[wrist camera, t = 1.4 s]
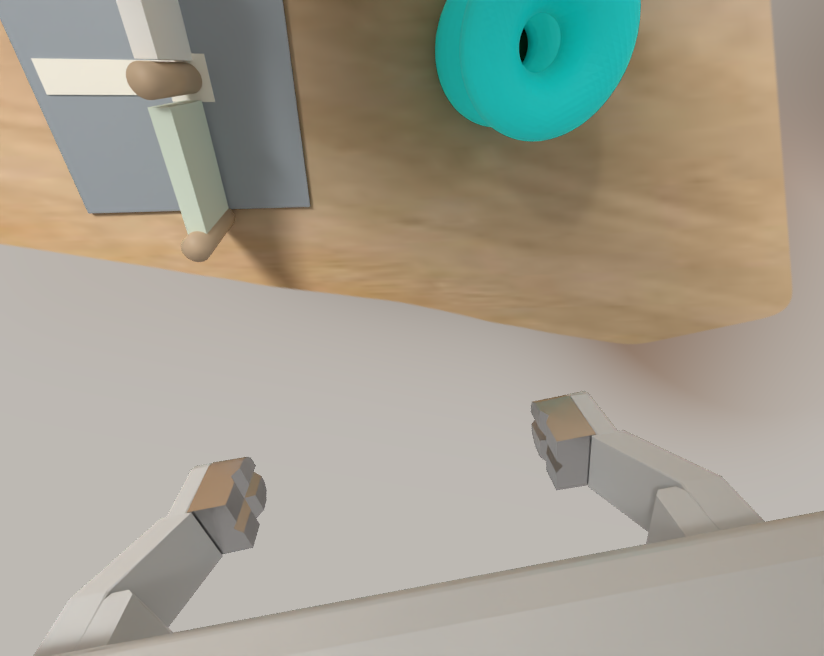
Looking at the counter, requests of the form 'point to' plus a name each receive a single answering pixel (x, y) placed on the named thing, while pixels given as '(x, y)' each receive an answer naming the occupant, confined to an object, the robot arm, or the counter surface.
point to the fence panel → (193, 175)
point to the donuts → (533, 61)
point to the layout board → (164, 100)
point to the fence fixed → (158, 49)
